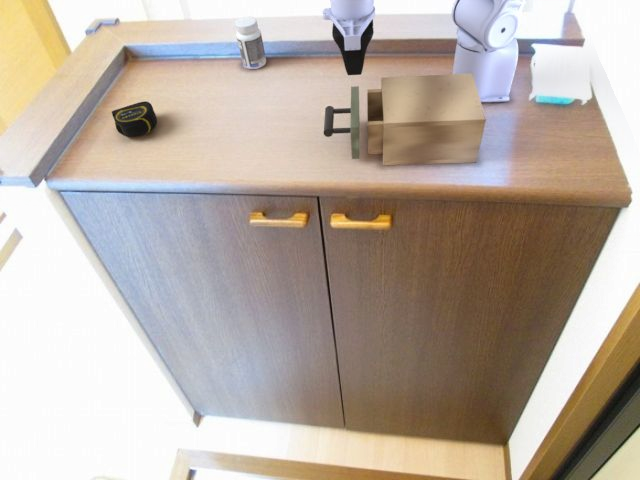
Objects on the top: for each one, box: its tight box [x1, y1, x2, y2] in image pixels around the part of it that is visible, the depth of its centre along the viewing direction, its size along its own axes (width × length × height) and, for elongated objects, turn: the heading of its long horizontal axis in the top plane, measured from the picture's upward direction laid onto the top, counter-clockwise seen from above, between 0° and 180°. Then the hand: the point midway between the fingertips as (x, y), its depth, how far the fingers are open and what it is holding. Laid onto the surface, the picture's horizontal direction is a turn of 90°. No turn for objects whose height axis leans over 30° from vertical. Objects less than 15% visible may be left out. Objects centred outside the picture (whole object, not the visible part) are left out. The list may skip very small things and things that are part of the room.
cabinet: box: [380, 73, 487, 166], centre depth 69 cm, size 14×12×8 cm
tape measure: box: [111, 101, 158, 138], centre depth 79 cm, size 7×7×4 cm
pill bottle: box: [235, 16, 267, 70], centre depth 89 cm, size 5×5×8 cm
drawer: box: [323, 85, 384, 160], centre depth 70 cm, size 17×10×6 cm, turn 87°
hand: (354, 72), depth 69 cm, fingers closed
